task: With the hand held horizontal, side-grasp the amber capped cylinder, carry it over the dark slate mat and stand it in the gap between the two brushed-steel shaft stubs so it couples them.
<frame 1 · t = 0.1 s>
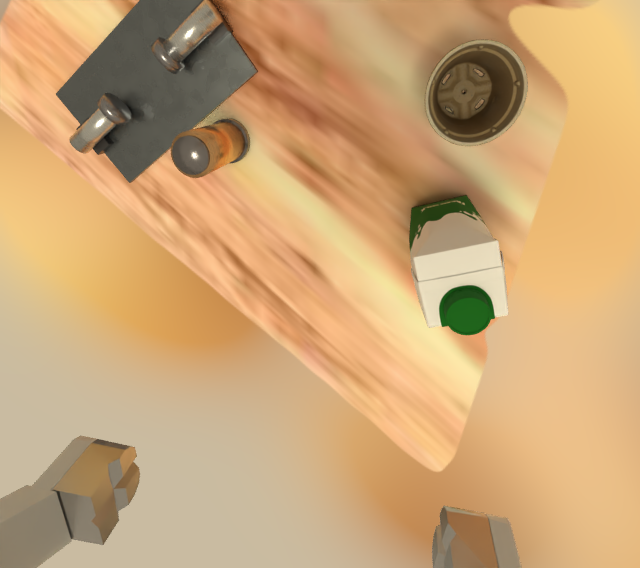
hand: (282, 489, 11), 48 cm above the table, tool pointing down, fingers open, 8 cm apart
amber capped cylinder: (230, 140, 55), on the table
shaft bench: (153, 83, 54), on the table
milk carton: (443, 226, 56), on the table
flower pot: (462, 92, 49), on the table
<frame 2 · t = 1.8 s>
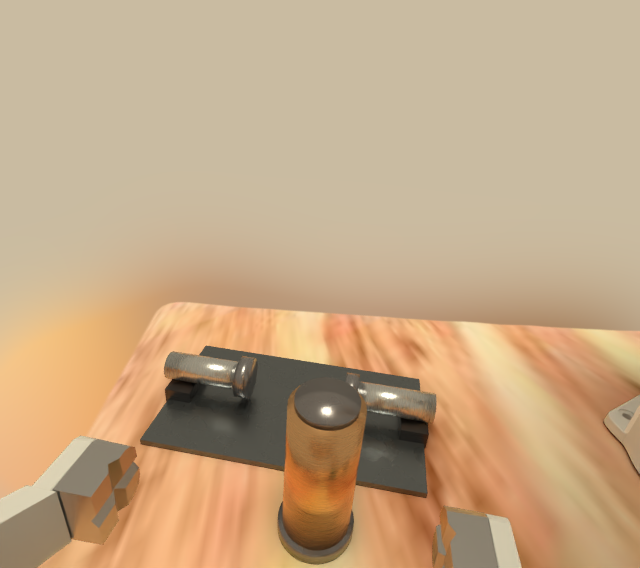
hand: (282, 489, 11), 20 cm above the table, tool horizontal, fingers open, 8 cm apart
amber capped cylinder: (315, 525, 31), on the table
shaft bench: (295, 409, 41), on the table
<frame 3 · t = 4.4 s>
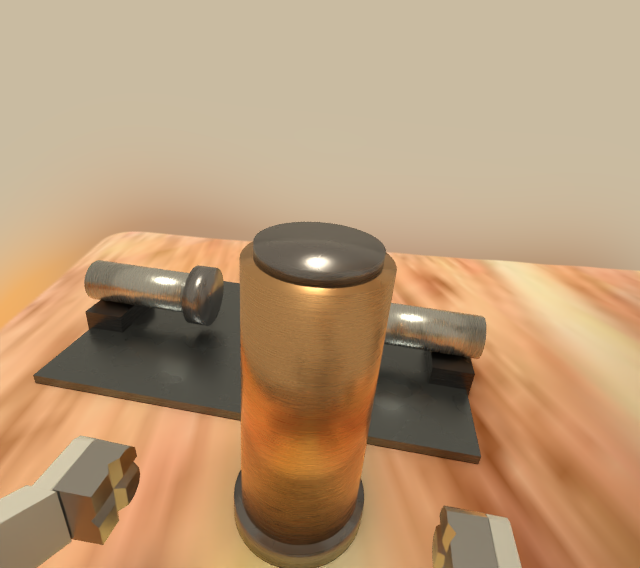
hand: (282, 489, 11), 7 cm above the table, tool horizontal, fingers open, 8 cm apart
amber capped cylinder: (298, 503, 18), on the table
shaft bench: (277, 345, 28), on the table
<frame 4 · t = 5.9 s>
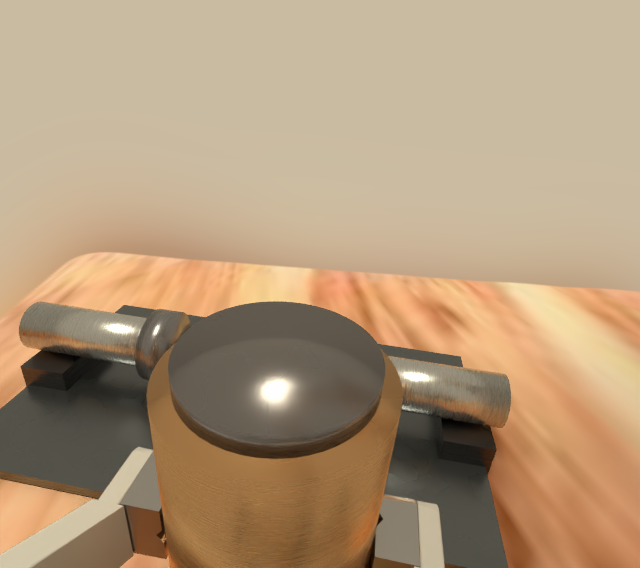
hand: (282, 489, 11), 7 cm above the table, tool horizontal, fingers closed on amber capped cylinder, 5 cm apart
shaft bench: (254, 403, 24), on the table
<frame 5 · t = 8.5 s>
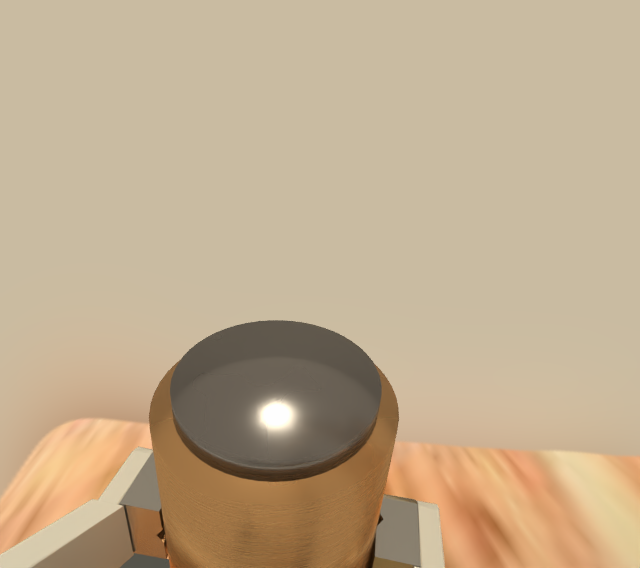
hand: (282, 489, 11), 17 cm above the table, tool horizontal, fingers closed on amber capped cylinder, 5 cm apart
when the fingers open (9 cm above the table, at t = 10.7 s): amber capped cylinder stays where it is, resting on shaft bench.
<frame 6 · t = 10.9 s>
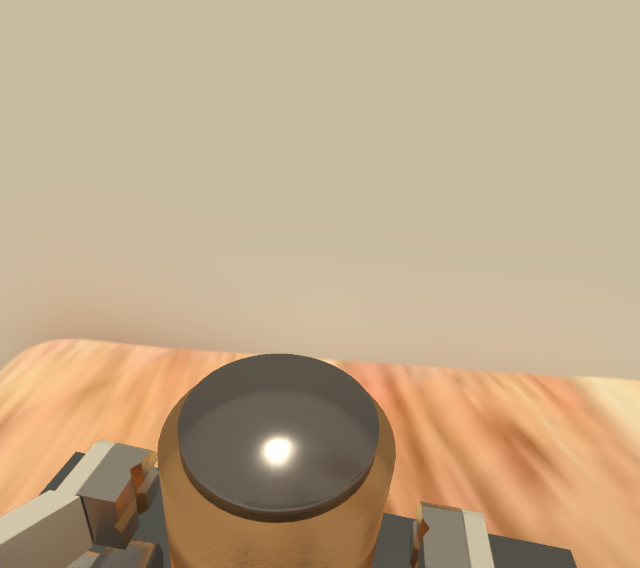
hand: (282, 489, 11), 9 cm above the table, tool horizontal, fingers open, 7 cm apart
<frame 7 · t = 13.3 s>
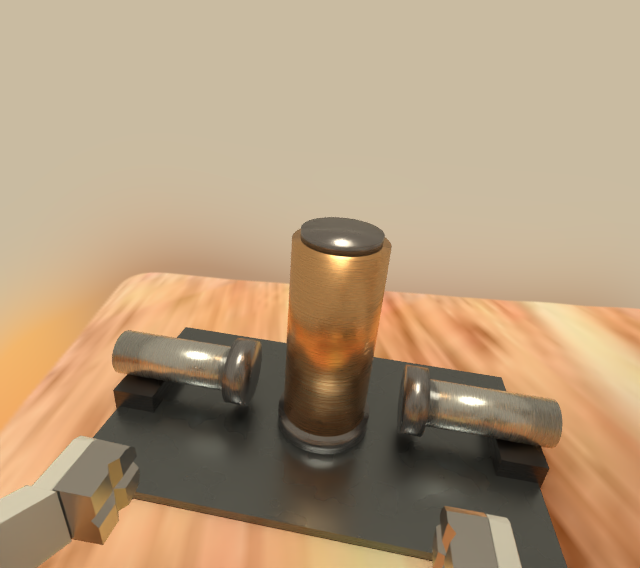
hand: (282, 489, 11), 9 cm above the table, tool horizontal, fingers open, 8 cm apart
amber capped cylinder: (322, 418, 26), point 1 cm above the table, touching shaft bench
shaft bench: (322, 423, 26), on the table
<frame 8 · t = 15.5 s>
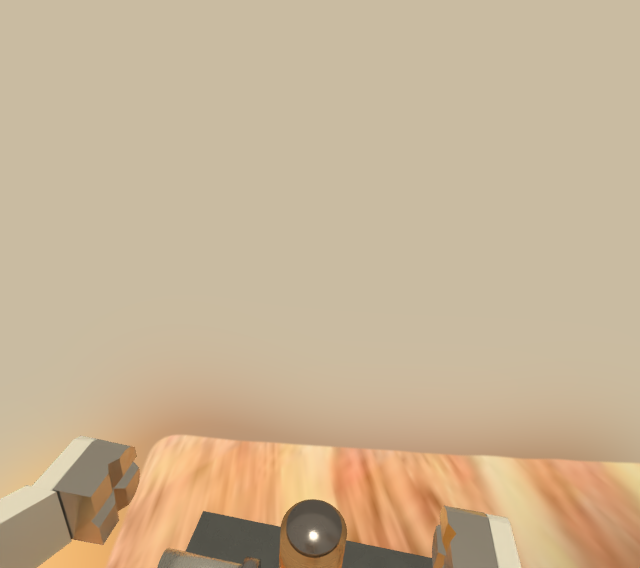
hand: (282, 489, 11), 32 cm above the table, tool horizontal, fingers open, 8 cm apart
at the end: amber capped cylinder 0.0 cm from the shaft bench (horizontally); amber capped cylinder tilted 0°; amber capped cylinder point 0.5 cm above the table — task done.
